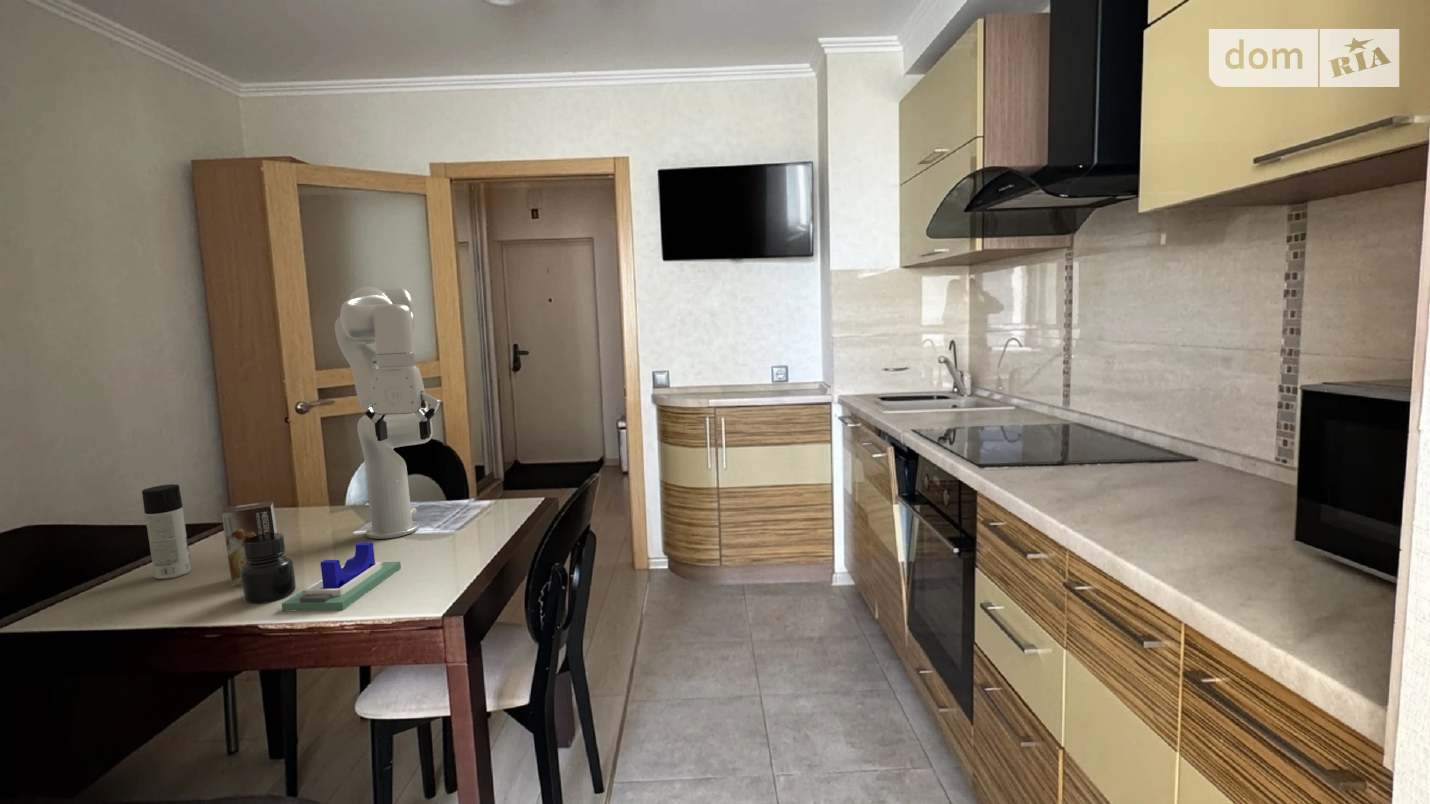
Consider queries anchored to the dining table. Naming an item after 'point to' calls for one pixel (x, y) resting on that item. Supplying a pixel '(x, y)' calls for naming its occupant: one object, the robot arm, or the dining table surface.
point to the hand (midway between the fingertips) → (404, 439)
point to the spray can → (166, 531)
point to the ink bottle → (267, 569)
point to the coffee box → (245, 531)
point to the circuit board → (340, 590)
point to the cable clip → (347, 567)
